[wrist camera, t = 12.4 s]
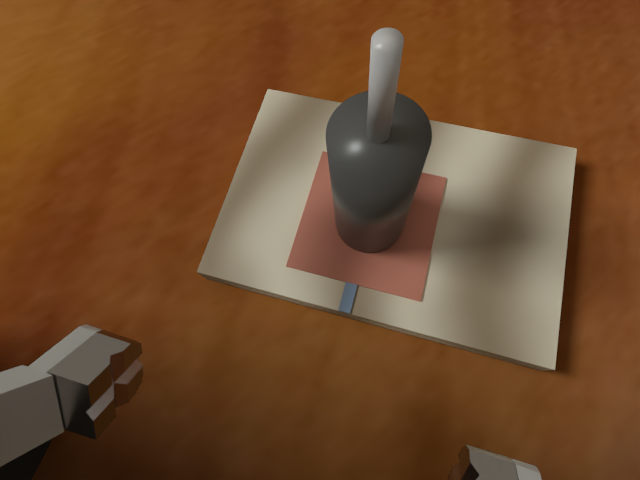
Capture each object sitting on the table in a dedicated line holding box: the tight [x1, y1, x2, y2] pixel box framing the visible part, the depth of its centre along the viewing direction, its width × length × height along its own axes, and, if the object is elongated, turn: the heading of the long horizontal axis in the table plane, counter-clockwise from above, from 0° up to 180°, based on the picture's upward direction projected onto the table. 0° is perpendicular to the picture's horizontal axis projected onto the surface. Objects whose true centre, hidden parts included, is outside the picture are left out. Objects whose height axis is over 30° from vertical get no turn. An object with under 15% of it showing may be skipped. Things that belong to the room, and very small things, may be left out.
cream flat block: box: [197, 89, 577, 371], centre depth 22 cm, size 18×12×2 cm, turn 74°
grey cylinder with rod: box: [326, 28, 432, 253], centre depth 16 cm, size 4×4×12 cm
